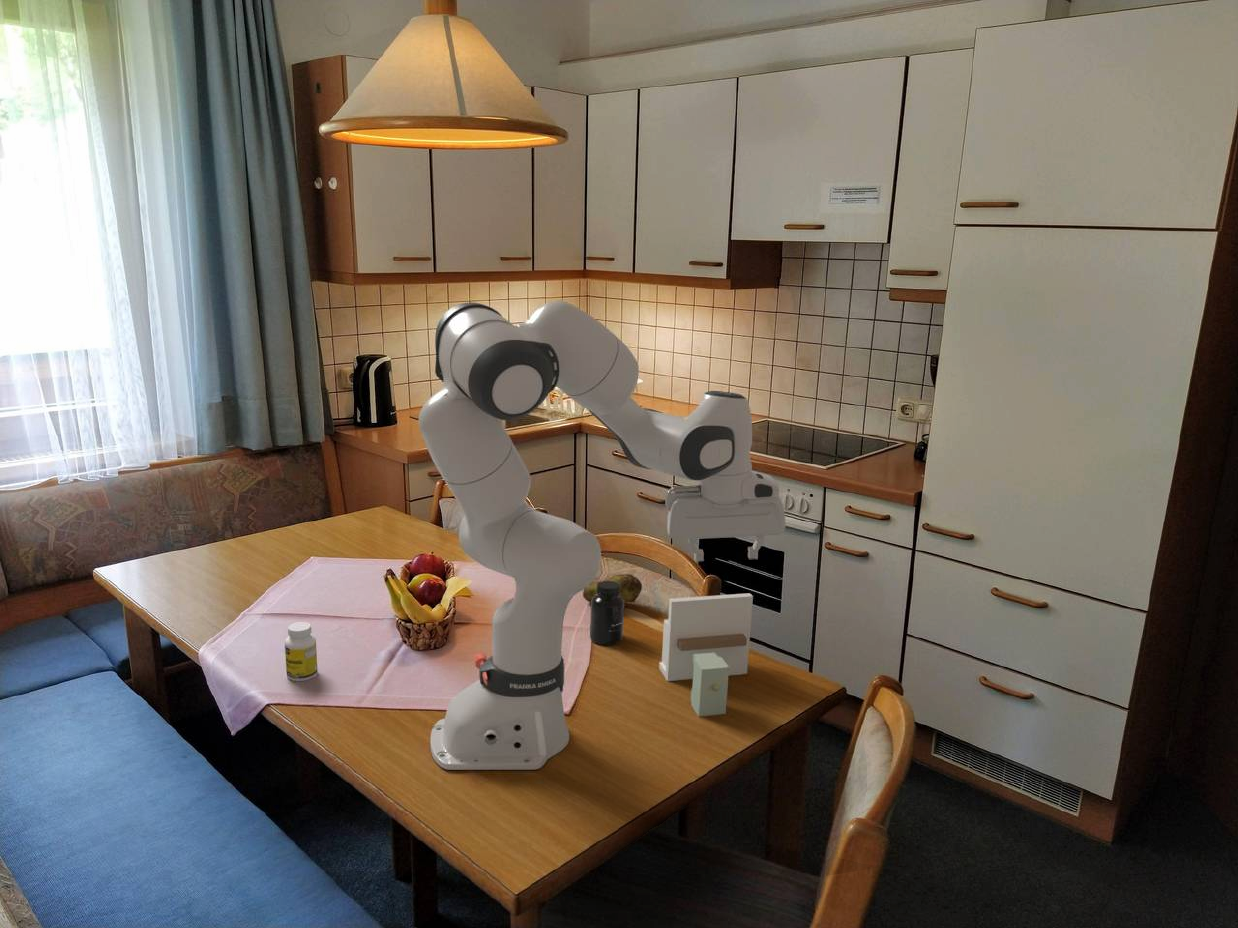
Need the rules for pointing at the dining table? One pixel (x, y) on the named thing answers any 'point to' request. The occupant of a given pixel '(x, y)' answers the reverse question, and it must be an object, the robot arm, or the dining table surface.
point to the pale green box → (709, 684)
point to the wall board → (706, 633)
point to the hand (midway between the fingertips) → (725, 559)
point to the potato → (628, 588)
